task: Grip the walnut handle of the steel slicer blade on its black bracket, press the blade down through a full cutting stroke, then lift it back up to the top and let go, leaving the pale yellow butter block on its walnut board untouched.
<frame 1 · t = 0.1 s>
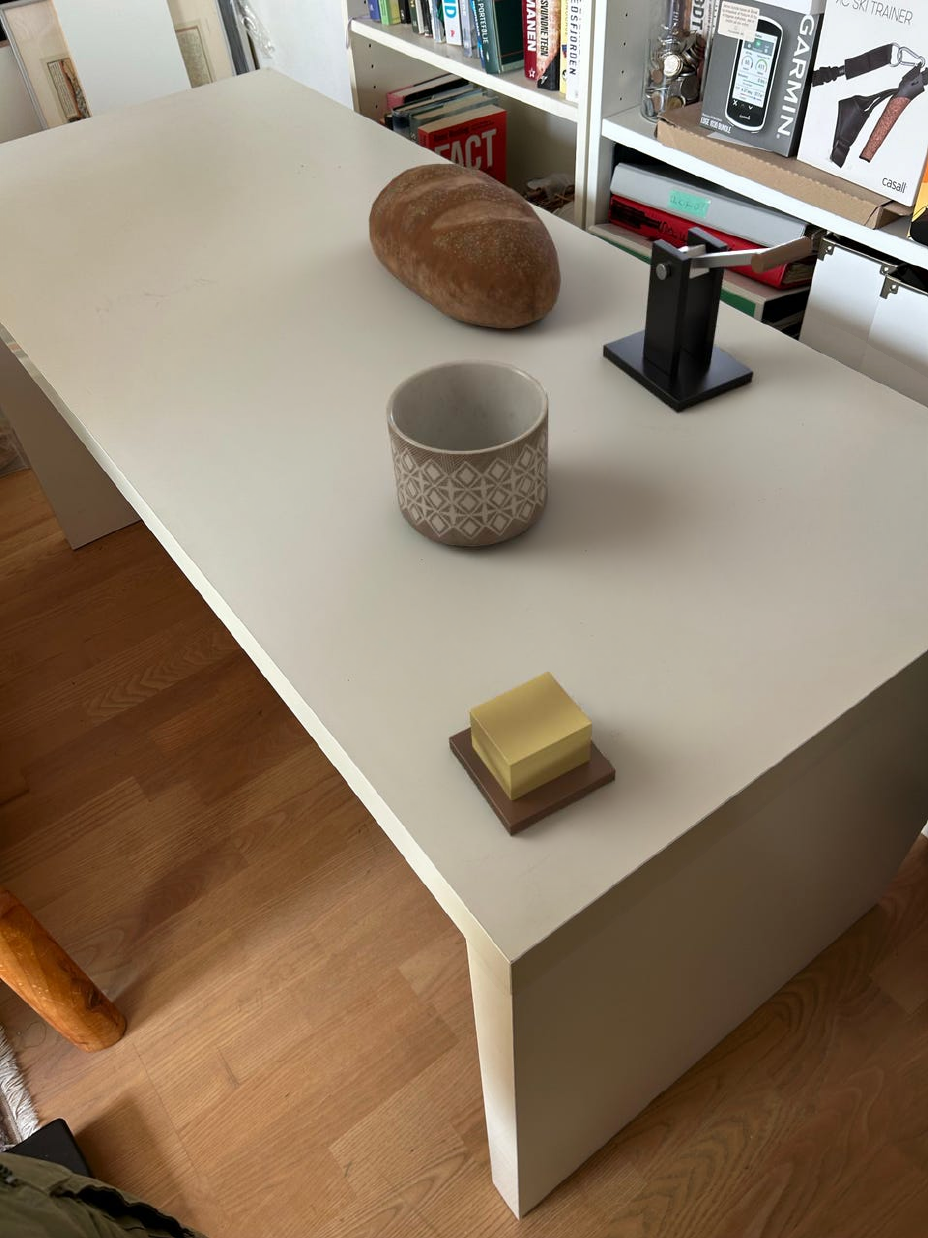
planter: (473, 507, 83), on the table
butter: (530, 763, 64), on the table
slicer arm: (729, 258, 82), point 13 cm above the table, hinge at 25.0°
slicer: (675, 368, 95), on the table
bread: (461, 279, 110), on the table
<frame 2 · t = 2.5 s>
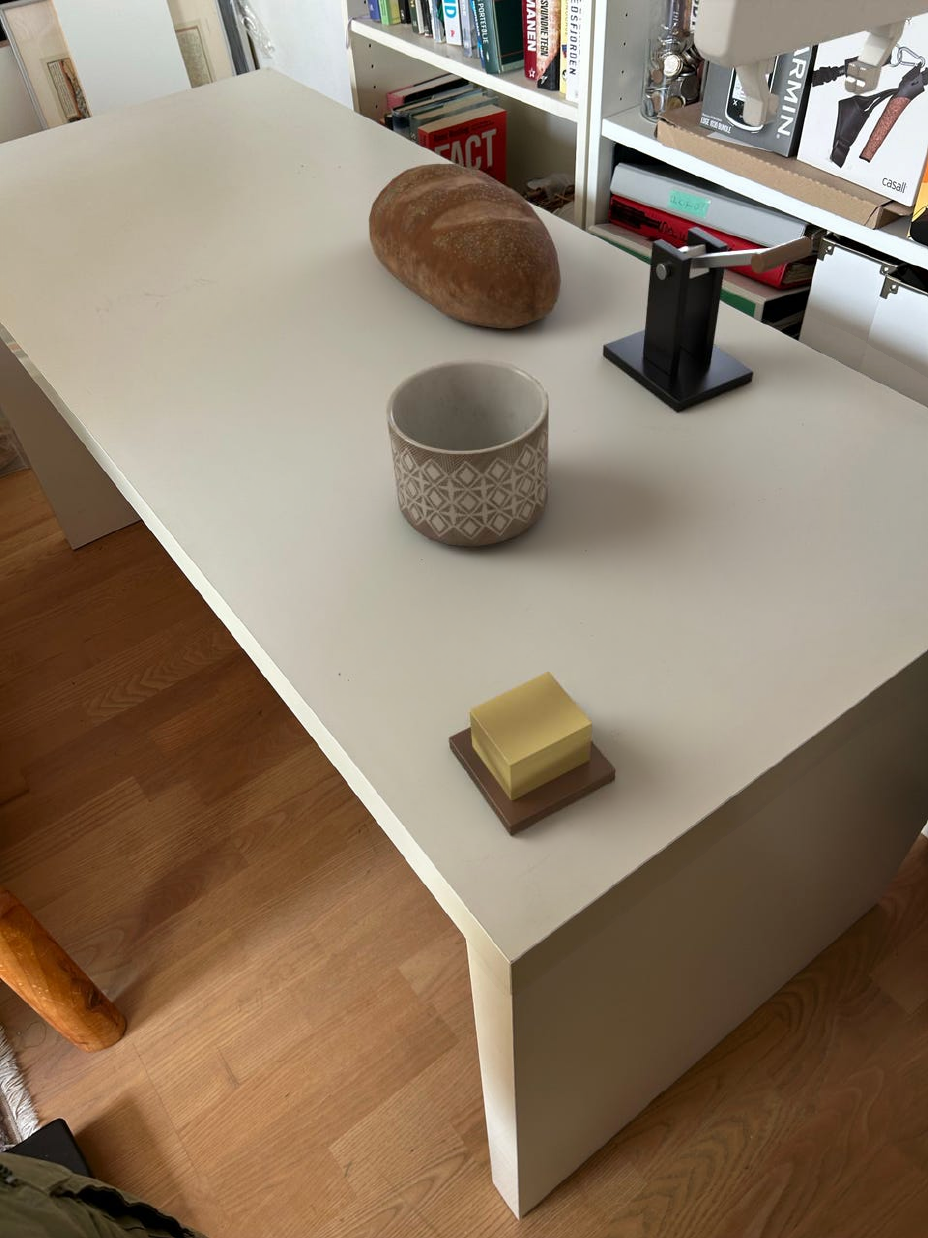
hand: (809, 106, 68), 27 cm above the table, tool pointing down, fingers open, 8 cm apart
nothing on the table moved.
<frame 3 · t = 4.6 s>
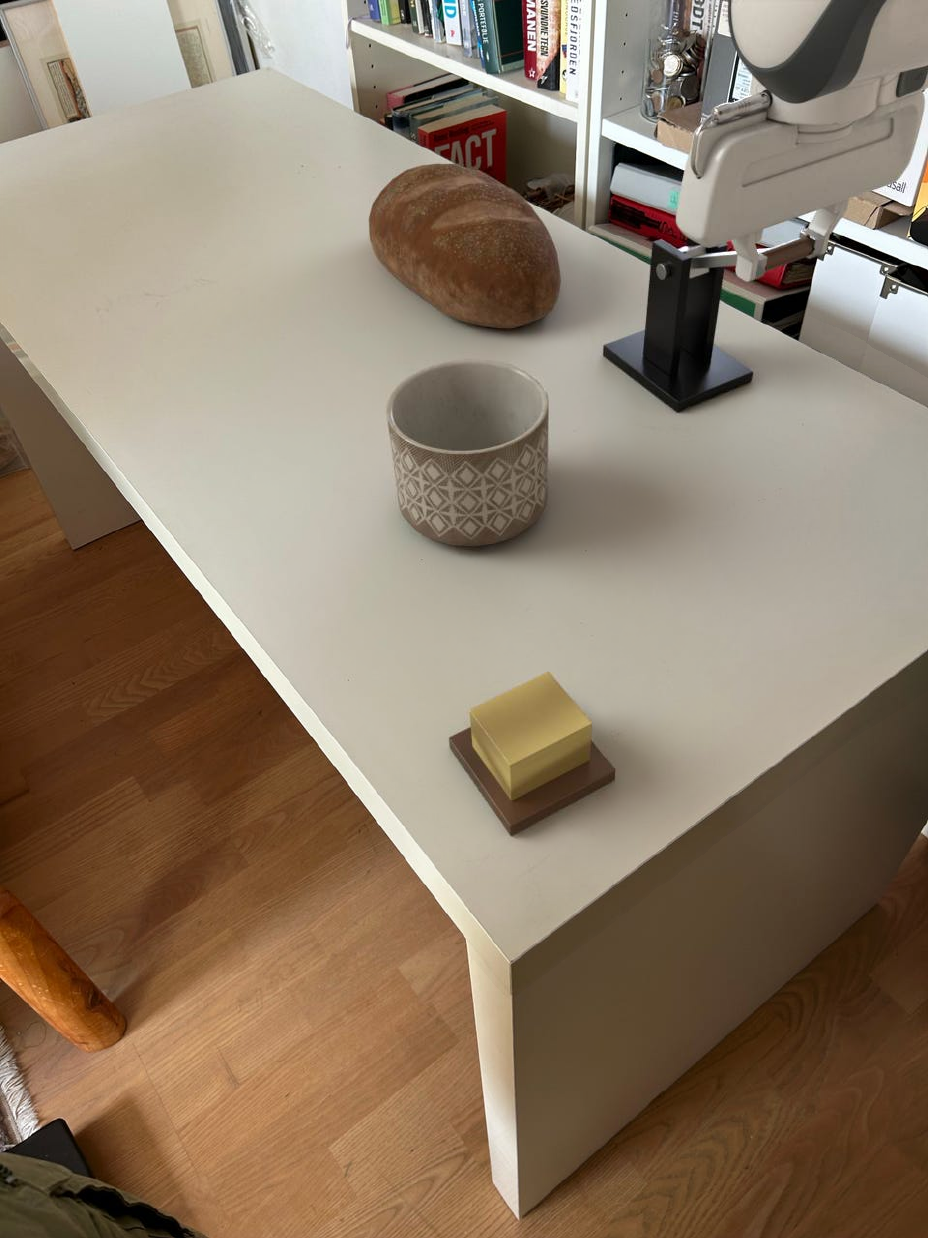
hand: (780, 265, 77), 15 cm above the table, tool pointing down, fingers closed on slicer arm, 5 cm apart
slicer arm: (729, 258, 82), point 13 cm above the table, hinge at 25.0°, touching gripper
everything else where it was.
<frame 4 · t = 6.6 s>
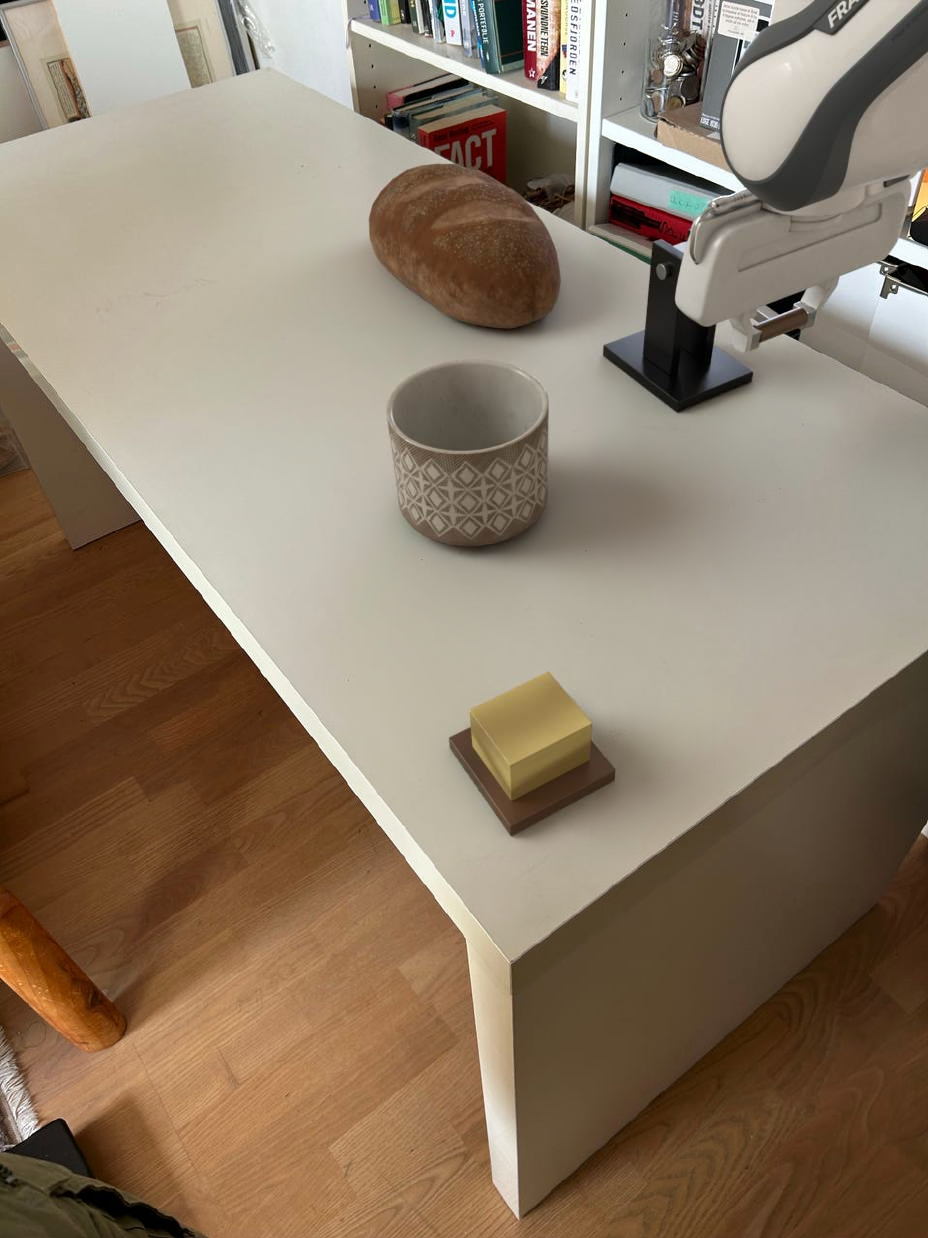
hand: (774, 336, 81), 9 cm above the table, tool pointing down, fingers closed on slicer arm, 5 cm apart
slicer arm: (728, 290, 84), point 11 cm above the table, hinge at -3.0°, touching gripper
everything else where it was.
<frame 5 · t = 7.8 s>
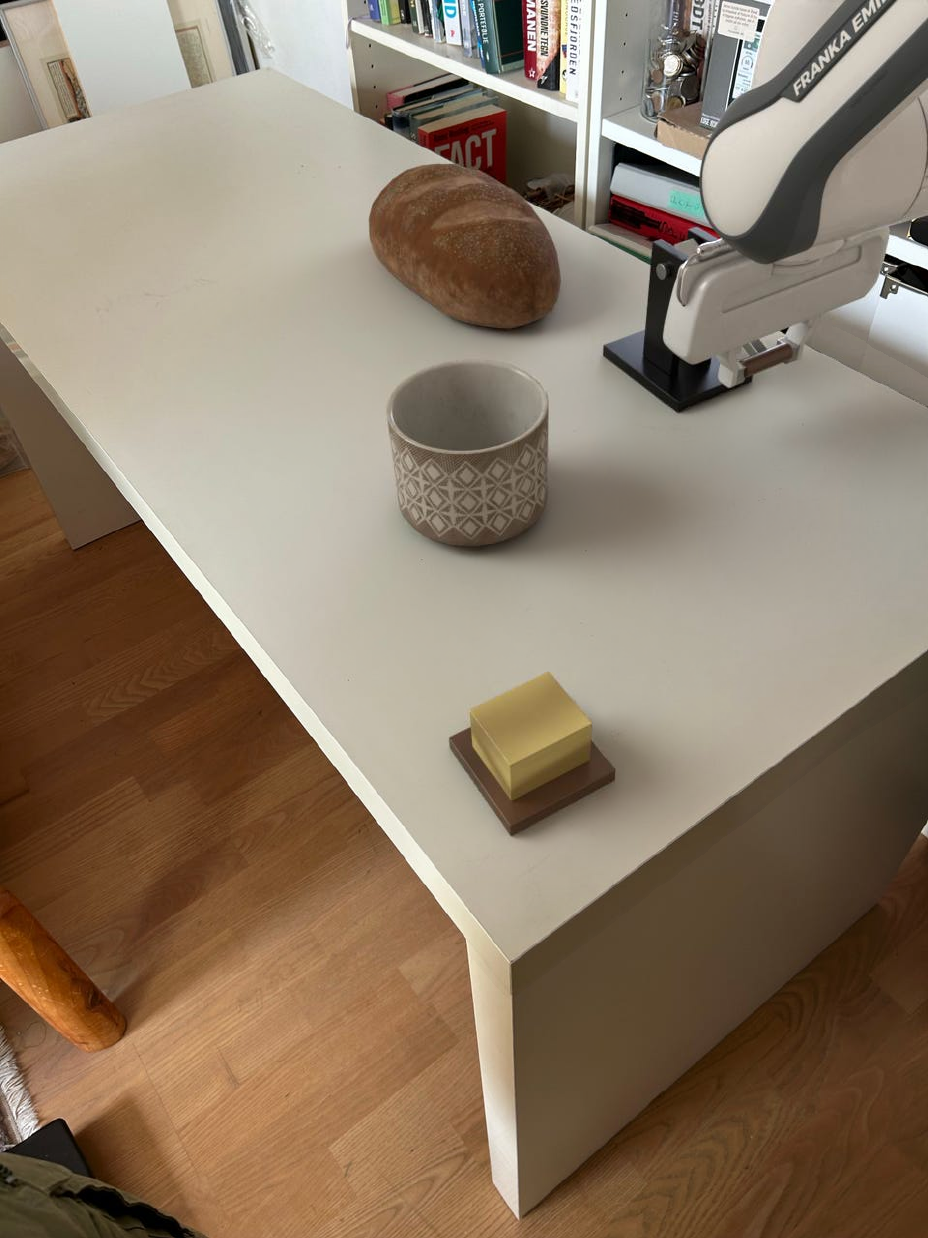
hand: (759, 370, 84), 5 cm above the table, tool pointing down, fingers closed on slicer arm, 5 cm apart
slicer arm: (723, 307, 85), point 9 cm above the table, hinge at -21.0°, touching gripper
everything else where it was.
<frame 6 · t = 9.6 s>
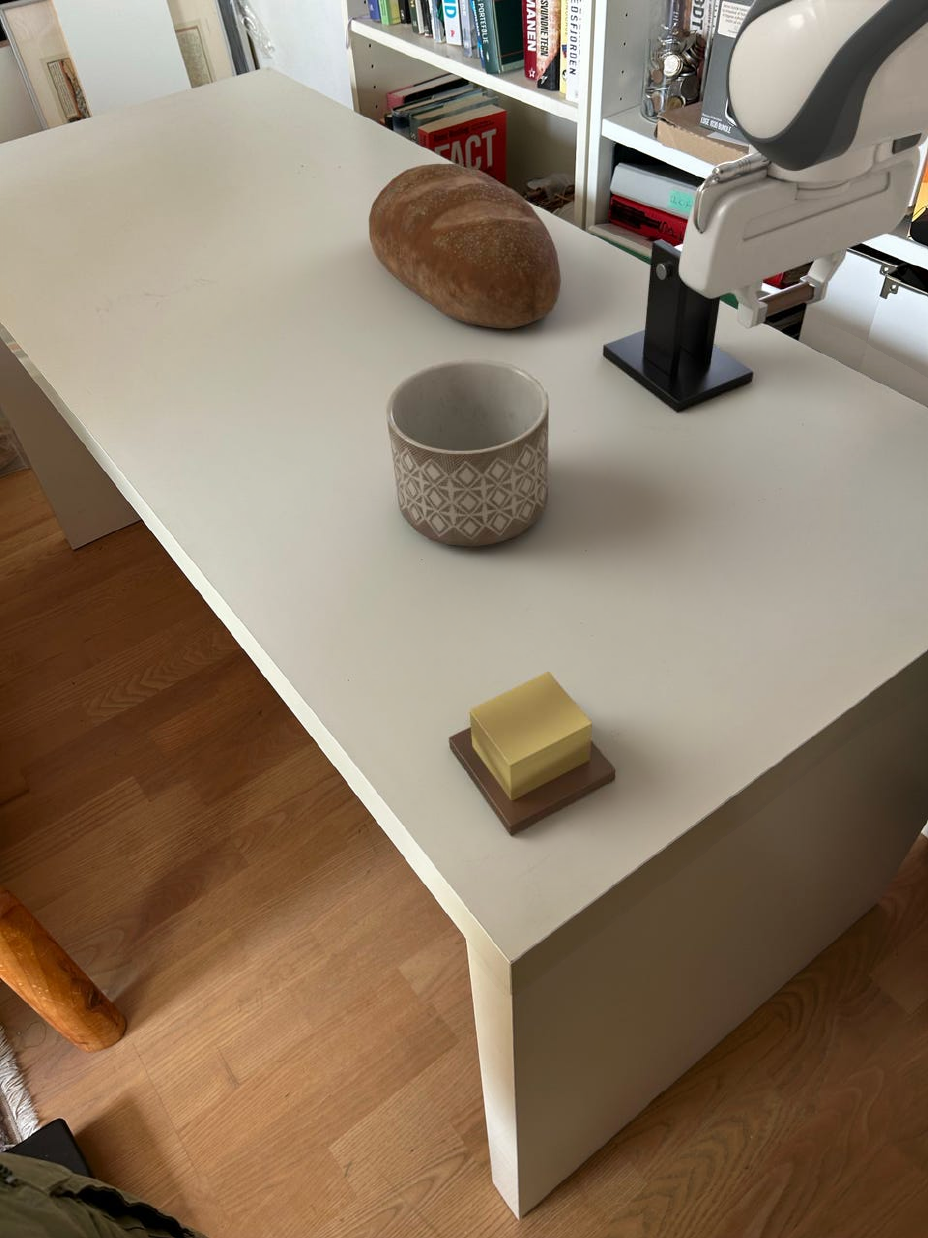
hand: (780, 311, 79), 12 cm above the table, tool pointing down, fingers closed on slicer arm, 5 cm apart
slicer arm: (730, 279, 83), point 12 cm above the table, hinge at 7.9°, touching gripper
everything else where it was.
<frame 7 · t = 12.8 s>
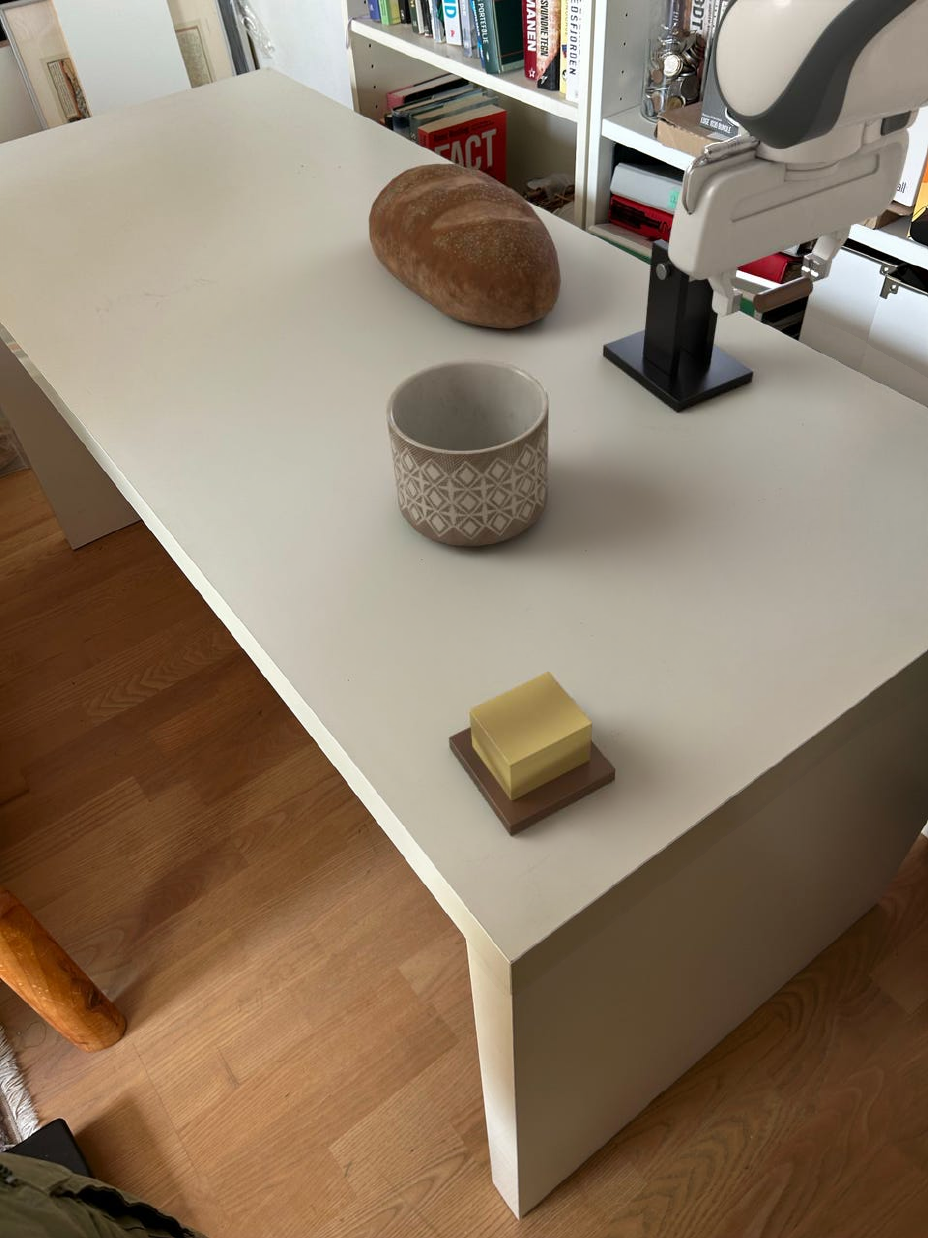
hand: (770, 294, 79), 12 cm above the table, tool pointing down, fingers open, 8 cm apart
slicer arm: (730, 276, 83), point 12 cm above the table, hinge at 10.0°
everything else where it was.
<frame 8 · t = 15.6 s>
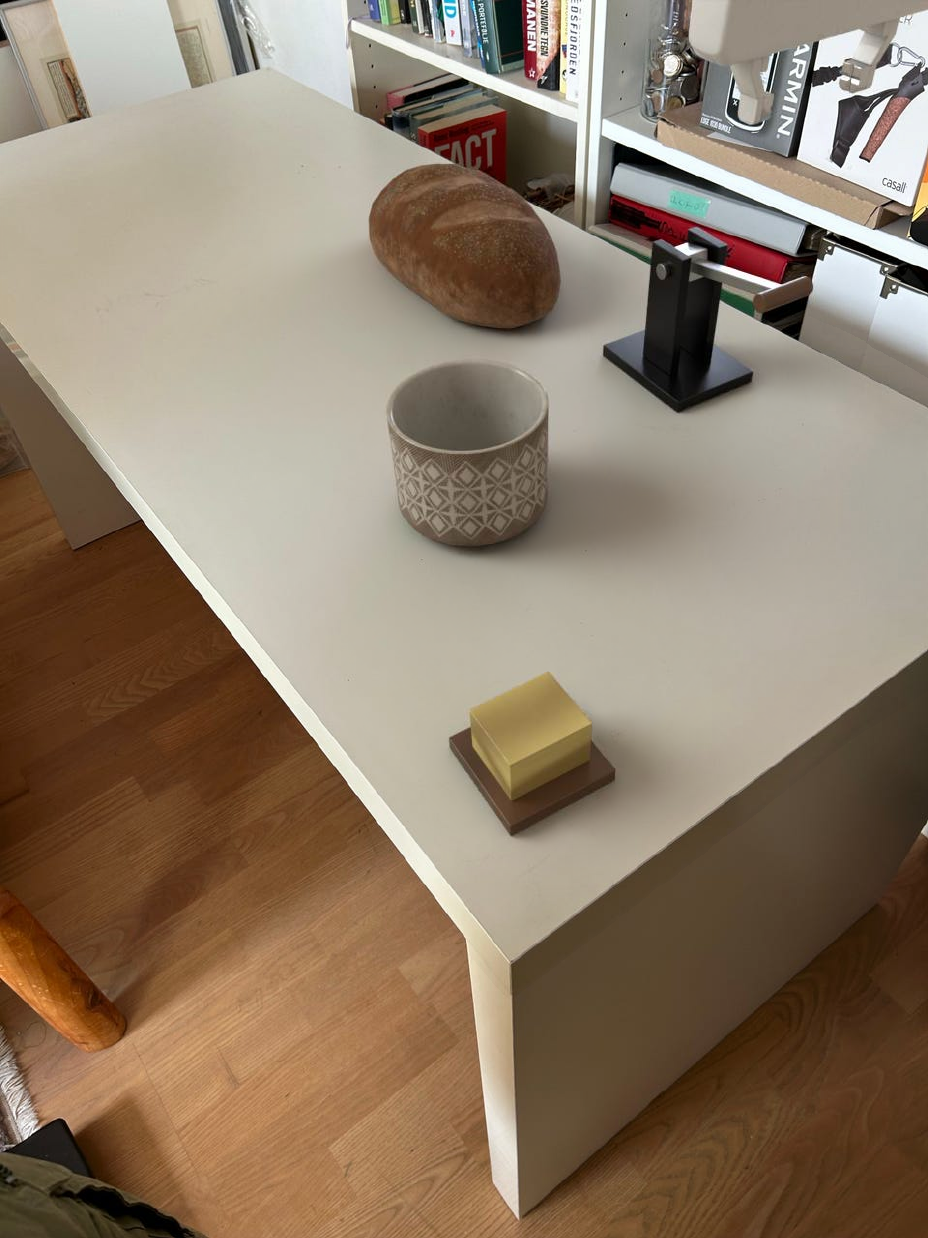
hand: (804, 104, 69), 27 cm above the table, tool pointing down, fingers open, 8 cm apart
nothing on the table moved.
at the end: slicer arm reached -21° during the clip, +10° at the end; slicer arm at +10° (first picture: +25°); butter moved 0.0 cm from its start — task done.
